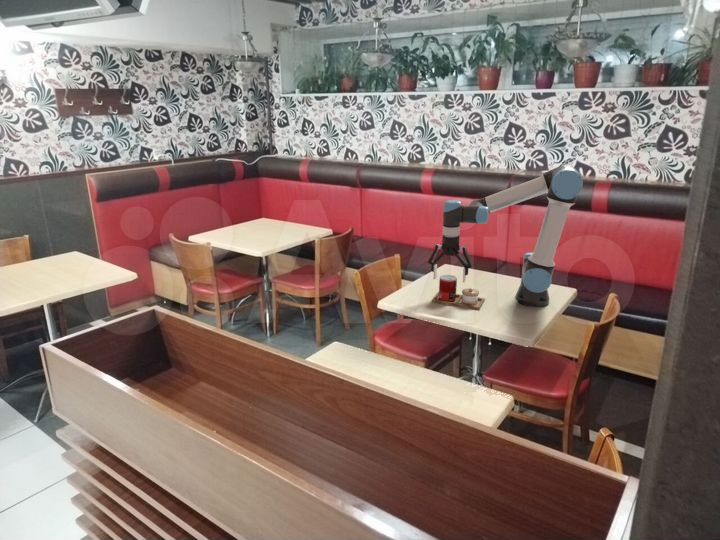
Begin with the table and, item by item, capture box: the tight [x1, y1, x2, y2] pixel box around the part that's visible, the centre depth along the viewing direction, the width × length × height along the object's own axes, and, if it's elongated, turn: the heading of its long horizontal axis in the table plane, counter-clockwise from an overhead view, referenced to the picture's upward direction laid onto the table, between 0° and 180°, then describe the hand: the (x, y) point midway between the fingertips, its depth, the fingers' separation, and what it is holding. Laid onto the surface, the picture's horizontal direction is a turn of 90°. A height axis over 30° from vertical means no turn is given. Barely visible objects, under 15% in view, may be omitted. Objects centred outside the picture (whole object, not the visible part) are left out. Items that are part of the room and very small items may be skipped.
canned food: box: [438, 274, 458, 302], centre depth 248 cm, size 8×8×11 cm
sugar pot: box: [461, 287, 480, 306], centre depth 244 cm, size 8×8×7 cm
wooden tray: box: [431, 291, 486, 311], centre depth 248 cm, size 22×12×2 cm, turn 67°
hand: (449, 280), depth 246 cm, fingers open, 13 cm apart
